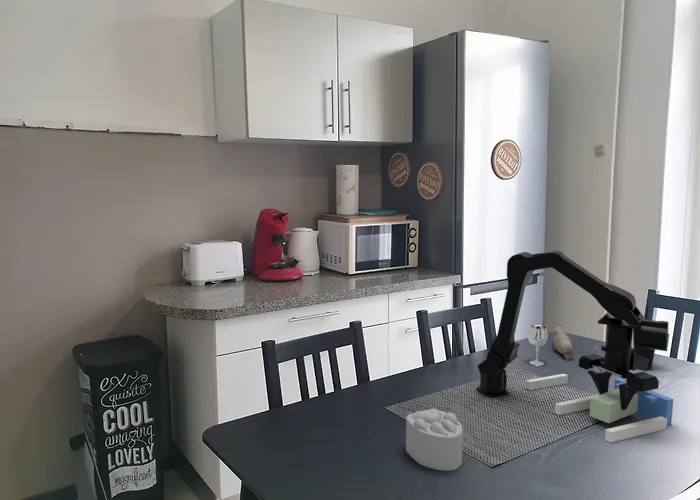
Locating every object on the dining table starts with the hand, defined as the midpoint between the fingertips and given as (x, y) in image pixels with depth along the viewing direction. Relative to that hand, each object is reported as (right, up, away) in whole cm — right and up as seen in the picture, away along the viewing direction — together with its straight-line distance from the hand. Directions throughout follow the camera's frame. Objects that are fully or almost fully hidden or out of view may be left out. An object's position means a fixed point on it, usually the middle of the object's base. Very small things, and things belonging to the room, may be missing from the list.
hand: (614, 405), depth 133 cm
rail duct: (-3, -3, +8) cm, 9 cm away
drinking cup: (+27, +1, +37) cm, 46 cm away
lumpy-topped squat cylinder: (-46, -6, -17) cm, 50 cm away
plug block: (0, -2, 0) cm, 2 cm away
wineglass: (-5, +1, +41) cm, 42 cm away
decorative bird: (+8, +3, +52) cm, 52 cm away
